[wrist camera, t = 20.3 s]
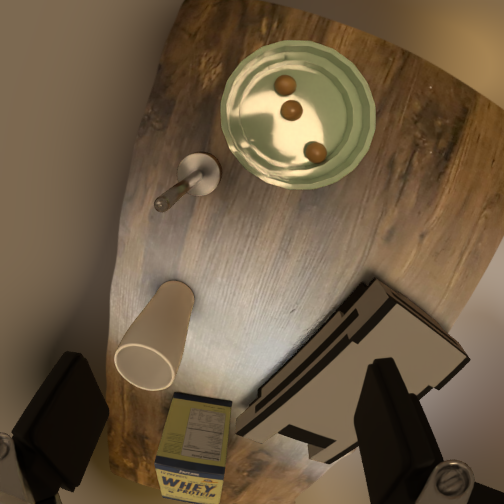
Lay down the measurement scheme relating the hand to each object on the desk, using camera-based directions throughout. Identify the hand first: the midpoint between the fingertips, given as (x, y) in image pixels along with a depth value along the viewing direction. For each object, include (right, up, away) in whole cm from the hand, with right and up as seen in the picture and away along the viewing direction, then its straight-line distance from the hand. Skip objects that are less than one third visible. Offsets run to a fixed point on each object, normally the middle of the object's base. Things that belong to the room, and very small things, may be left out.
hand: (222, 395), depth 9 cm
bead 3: (+8, +15, +24) cm, 30 cm away
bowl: (+6, +20, +24) cm, 32 cm away
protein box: (-8, -27, +45) cm, 53 cm away
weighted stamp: (-5, +14, +27) cm, 31 cm away
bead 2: (+5, +20, +22) cm, 30 cm away
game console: (+16, -15, +39) cm, 44 cm away
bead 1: (+5, +22, +21) cm, 31 cm away
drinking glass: (-9, -1, +34) cm, 35 cm away
